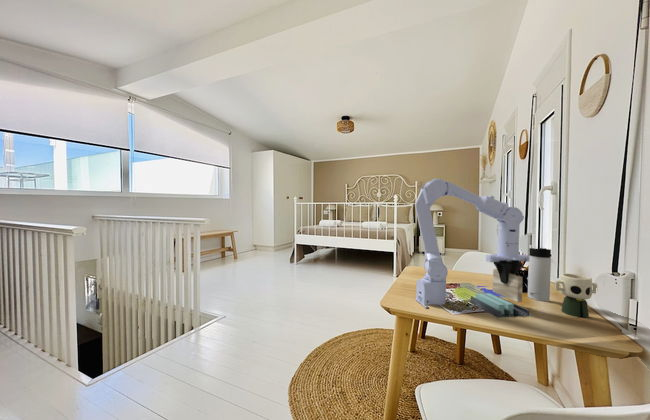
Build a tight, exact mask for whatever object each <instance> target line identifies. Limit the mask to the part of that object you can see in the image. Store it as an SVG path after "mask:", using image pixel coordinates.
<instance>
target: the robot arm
mask: <svg viewBox="0 0 650 420" xmlns="http://www.w3.org/2000/svg"><path fill="white" fill-rule="evenodd" d="M448 196H452V197H454V198H457V199H460V200H462V201H464V202H466V203H469V204H471V205H474V207H475V209H476V211H478V212H481V214H484V215H487V216H488V217H491V218H492V219H496V220H497V222H498V235H497V254H488V255H486V256H485V261H486V262H488V263H493V265H494V266H495V269H497V270H498V273H499V276H500V280H501V282H502V283H505V284H508V279H509V273H511V274H514V275H518V272H520V270H521V268H523V265H524V264H523V263H522V262H528V263H529V260H530V256H529V254H528V255H527V254H520V251H519V249H520V225H521V224H522V222H523V221H524V219H525V216H524V214H523V212H522V211H521V209H520V208H519V207H516V206H509V203H508V202H502V201H499V200H497V199H495V196H493V195H483V196H479V195H477V194H475V193H473V192H471V191H469V190H467V189H465V188H464V187H461V186H459V185H457V184H456V183H453V182H450V181H447V180H444V179H442V178H433V179H431V180H430V181H427V182H426V183H424V184H423V186H422V187H421V188H420V191H419V194H418V196H417V198H416V201H415V203H414V207H415V213H416V217H417V222H418V227H419V231H420V236H421V241H422V246H423V250H424V264H423V265H424V267H423V268H424V270H425V271H426V272H425V274H423V278H419V279H417V280H416V285H415V289H416V290H415V291H416V292H415V293H416V294H415V299H414V300H415V301H416V302H418V303H419V304H420V305H422V306H423V307H424V308H427V309H429V308H430V306H428V305H438V306H441V305H444V304H446V301H447V299H446V298H447V276H448V273H449V272H448V268H447V267H446V265H445V264H444V262H443V258H442V256H441V253H440V249H439V245H438V240H437V234H436V230H435V225H434V222H433V215H432V212H431V207H432V206H433V205H434V203H435V202H436V201H437V200H438V199H440V198H441V197H448Z"/></svg>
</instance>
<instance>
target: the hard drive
mask: <svg viewBox="0 0 650 420" xmlns="http://www.w3.org/2000/svg"><path fill="white" fill-rule="evenodd" d="M476 288H481V290H482V292H483V294H484V293H490V294H492V295H494V296H499V297H501V298H505V297H504V296H502V295H500V294H497V293H495V292H493V289H488V286H486V285H485V286H484V285H476Z"/></svg>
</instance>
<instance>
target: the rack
mask: <svg viewBox="0 0 650 420" xmlns="http://www.w3.org/2000/svg"><path fill="white" fill-rule="evenodd" d="M497 297H499V296H497ZM499 298H501V299H503V300H505V301H508V302H510V303H512V304H514V311H513V314H511V311H509V310H507V309H504V314H502V312H501V311H499V310H497V309H495V308H493V307H492V306H490V305H488V304H486V303H484V302H482V301H480V300H478V299H476V297H474V296H470V299H467V300H466V299H465V301H466V302H468V303H469V304H472V305H473V306H475V307H477V308H479V309H480V310H482V311H483V312H486V313H487V314H489V315H491V316H492V317H495V318H496V319H498V318H503V319H504V318H517V317H519V318H520V317H535V314H532V313H530V310H529V309H528V308H525V307H523V306H520V305H518V304H516V303H514V302H512V301H510V300H507V299H505V298H504V297H499Z"/></svg>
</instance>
